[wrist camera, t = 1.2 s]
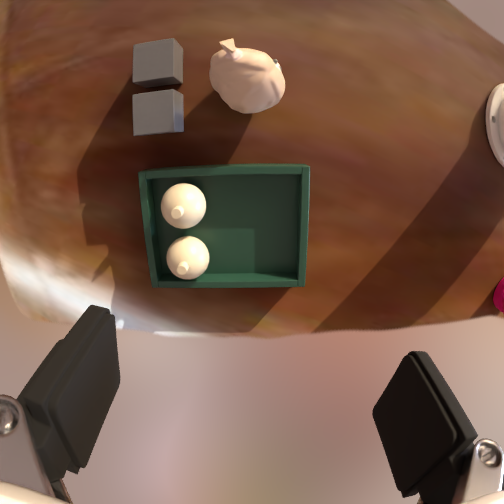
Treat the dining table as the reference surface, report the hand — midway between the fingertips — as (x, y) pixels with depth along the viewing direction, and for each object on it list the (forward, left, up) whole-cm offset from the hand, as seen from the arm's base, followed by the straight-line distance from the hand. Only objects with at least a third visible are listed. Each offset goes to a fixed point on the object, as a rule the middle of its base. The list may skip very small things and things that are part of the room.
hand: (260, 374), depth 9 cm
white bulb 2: (+7, +5, -24) cm, 26 cm away
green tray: (+3, +2, -25) cm, 25 cm away
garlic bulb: (0, -12, -25) cm, 28 cm away
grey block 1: (+9, -15, -25) cm, 30 cm away
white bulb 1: (+7, 0, -24) cm, 25 cm away
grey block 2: (+9, -10, -25) cm, 28 cm away
